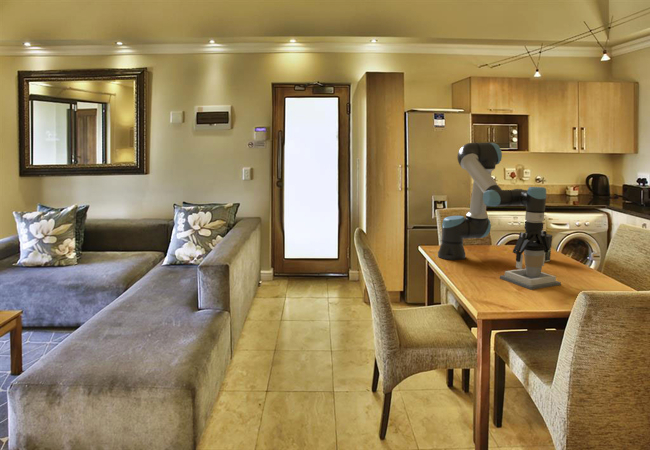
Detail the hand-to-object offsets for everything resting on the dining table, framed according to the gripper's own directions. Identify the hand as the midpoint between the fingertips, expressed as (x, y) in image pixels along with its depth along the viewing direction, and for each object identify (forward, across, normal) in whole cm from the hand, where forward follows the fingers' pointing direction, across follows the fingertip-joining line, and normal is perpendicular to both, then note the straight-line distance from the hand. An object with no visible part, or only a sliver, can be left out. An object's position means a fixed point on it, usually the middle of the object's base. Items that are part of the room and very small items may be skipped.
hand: (530, 266), depth 188 cm
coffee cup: (+4, +3, 0) cm, 5 cm away
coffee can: (+7, +38, +28) cm, 48 cm away
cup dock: (+7, 0, 0) cm, 7 cm away
